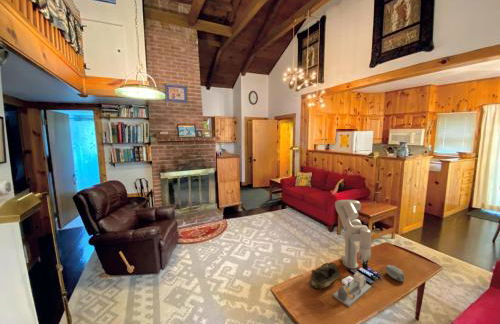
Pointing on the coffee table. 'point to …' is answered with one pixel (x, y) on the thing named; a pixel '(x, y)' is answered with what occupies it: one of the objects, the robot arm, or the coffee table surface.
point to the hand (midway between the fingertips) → (364, 267)
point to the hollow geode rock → (324, 275)
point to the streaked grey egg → (395, 273)
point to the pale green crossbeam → (351, 287)
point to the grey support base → (351, 293)
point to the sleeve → (359, 279)
